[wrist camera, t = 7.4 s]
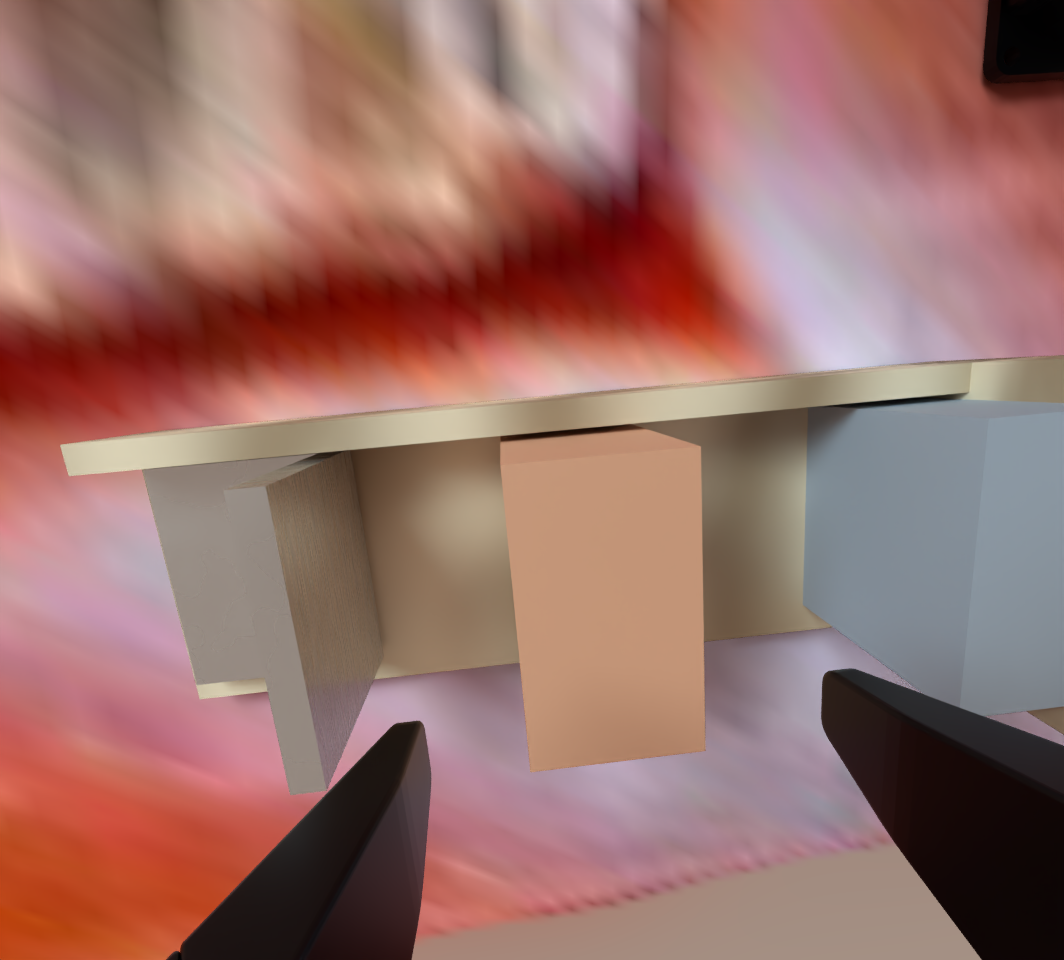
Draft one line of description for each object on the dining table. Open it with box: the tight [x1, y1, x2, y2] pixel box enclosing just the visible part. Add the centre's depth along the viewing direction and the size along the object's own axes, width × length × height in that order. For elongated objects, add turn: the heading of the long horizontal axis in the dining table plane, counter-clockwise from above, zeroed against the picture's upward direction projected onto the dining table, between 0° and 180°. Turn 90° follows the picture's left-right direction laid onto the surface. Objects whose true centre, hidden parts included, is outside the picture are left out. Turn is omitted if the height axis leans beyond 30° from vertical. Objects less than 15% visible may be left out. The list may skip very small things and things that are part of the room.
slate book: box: [803, 398, 1064, 716], centre depth 14 cm, size 3×7×6 cm, turn 5°
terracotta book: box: [500, 424, 705, 772], centre depth 13 cm, size 4×7×6 cm, turn 5°
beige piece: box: [60, 355, 1064, 735], centre depth 14 cm, size 26×9×8 cm, turn 95°
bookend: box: [143, 450, 384, 795], centre depth 13 cm, size 6×7×6 cm
